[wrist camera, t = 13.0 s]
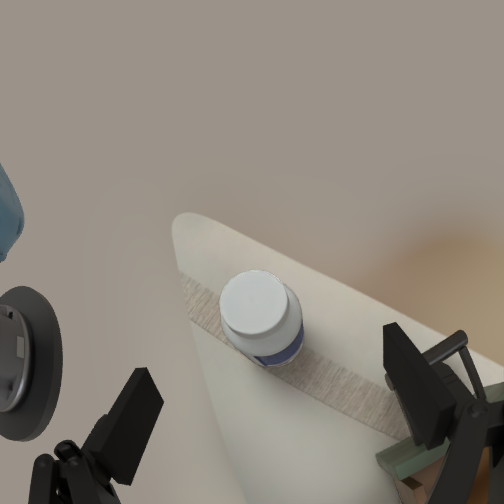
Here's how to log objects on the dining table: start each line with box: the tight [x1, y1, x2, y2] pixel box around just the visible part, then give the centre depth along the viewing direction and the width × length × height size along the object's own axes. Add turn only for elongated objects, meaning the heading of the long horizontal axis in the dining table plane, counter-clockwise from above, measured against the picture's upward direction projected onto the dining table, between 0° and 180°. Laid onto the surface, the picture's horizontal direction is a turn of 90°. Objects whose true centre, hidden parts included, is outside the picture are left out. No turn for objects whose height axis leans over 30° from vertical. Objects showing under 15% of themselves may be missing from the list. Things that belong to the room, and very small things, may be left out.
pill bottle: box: [219, 270, 304, 368], centre depth 21 cm, size 5×5×10 cm
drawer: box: [375, 330, 504, 504], centre depth 13 cm, size 19×11×6 cm, turn 18°
